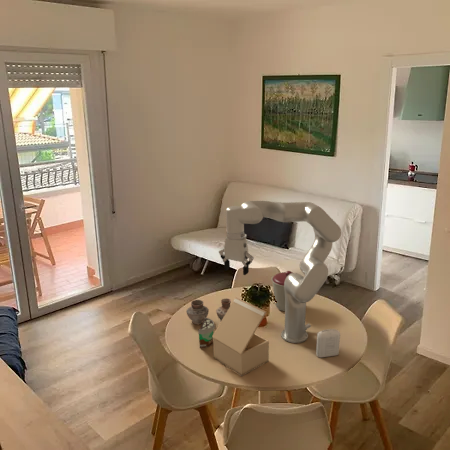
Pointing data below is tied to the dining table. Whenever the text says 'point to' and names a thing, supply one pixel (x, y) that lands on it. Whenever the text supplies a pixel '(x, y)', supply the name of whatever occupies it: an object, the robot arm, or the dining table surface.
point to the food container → (206, 333)
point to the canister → (280, 289)
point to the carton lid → (239, 325)
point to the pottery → (206, 310)
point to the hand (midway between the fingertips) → (236, 271)
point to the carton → (243, 355)
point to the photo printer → (328, 343)
